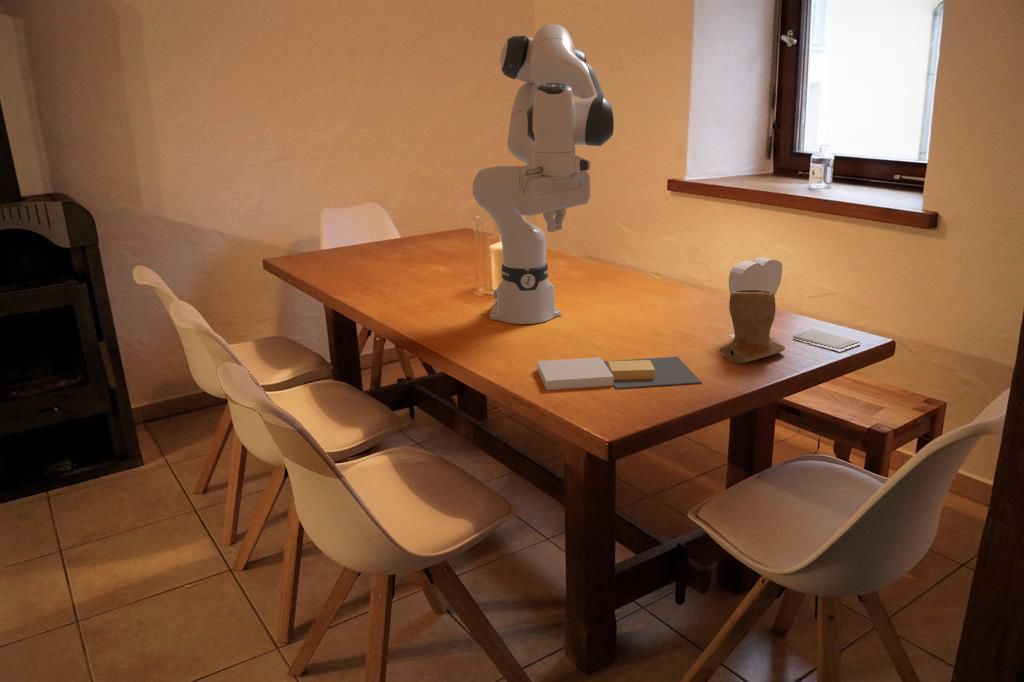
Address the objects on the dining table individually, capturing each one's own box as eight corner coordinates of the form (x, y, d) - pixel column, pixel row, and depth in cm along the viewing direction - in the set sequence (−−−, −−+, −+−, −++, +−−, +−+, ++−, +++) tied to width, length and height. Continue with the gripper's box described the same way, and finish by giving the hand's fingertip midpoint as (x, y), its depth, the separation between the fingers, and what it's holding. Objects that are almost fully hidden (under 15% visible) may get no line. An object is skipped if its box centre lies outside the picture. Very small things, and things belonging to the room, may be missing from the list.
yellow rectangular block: (611, 379, 174) (612, 370, 173) (607, 369, 180) (608, 361, 179) (654, 378, 174) (655, 369, 174) (649, 368, 180) (650, 359, 179)
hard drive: (792, 335, 197) (839, 347, 188) (813, 328, 202) (860, 340, 192) (792, 341, 198) (839, 354, 188) (813, 335, 202) (860, 347, 193)
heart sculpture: (763, 324, 209) (768, 253, 203) (780, 329, 205) (786, 257, 200) (722, 337, 200) (726, 263, 195) (739, 342, 196) (744, 267, 191)
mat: (598, 362, 185) (598, 361, 185) (677, 357, 187) (677, 356, 187) (615, 389, 170) (615, 387, 170) (701, 383, 172) (701, 382, 172)
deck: (537, 369, 182) (537, 361, 181) (600, 365, 183) (600, 357, 183) (546, 390, 170) (546, 380, 170) (613, 385, 172) (613, 376, 171)
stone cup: (749, 342, 197) (754, 280, 192) (791, 355, 187) (797, 290, 182) (704, 355, 188) (708, 290, 184) (746, 369, 179) (750, 302, 174)
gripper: (533, 171, 165) (534, 240, 169) (595, 161, 179) (594, 225, 184) (509, 169, 169) (511, 236, 173) (572, 159, 183) (572, 222, 188)
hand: (554, 230), depth 179 cm, fingers closed
